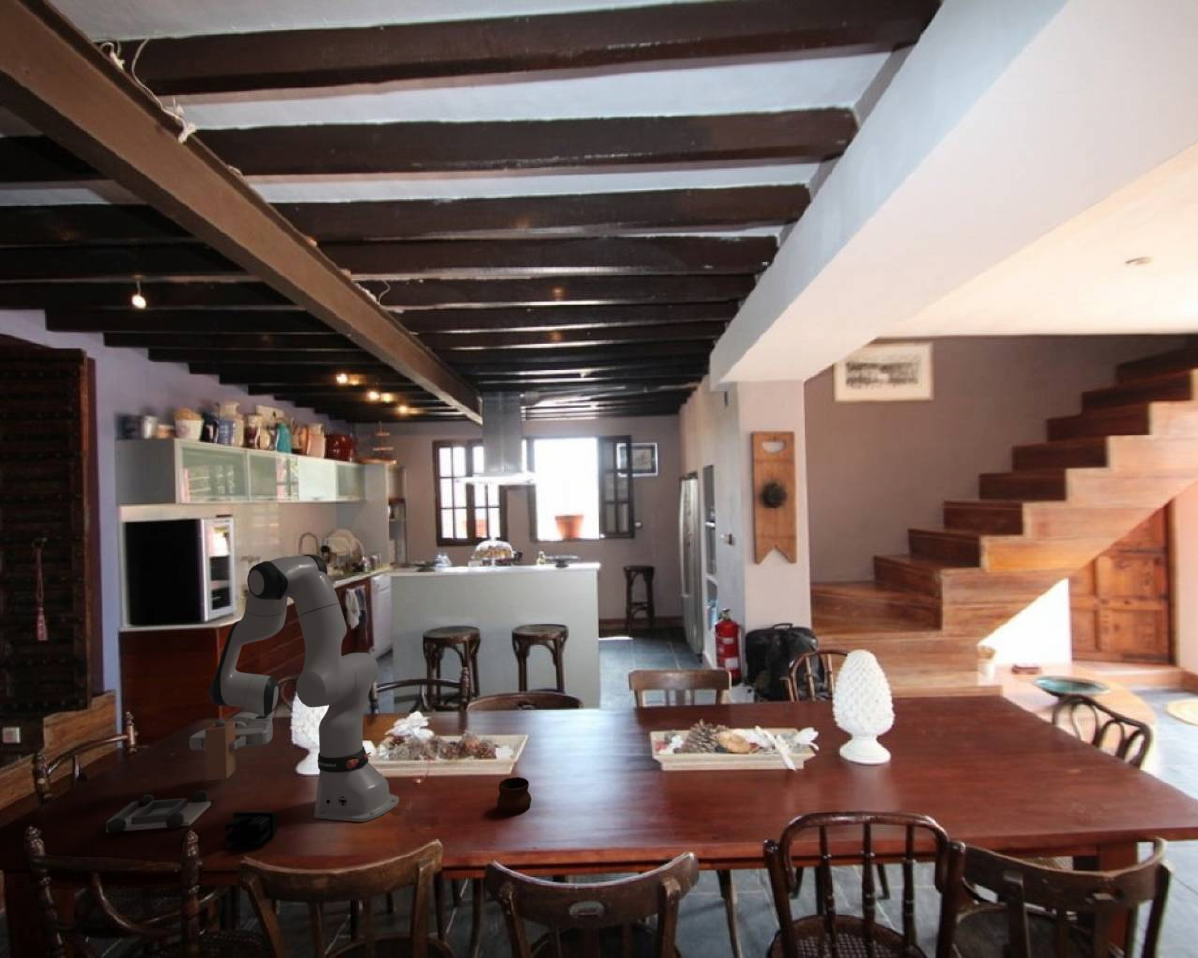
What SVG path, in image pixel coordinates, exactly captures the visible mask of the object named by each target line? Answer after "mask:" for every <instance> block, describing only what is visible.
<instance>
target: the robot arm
mask: <svg viewBox="0 0 1198 958" xmlns="http://www.w3.org/2000/svg"><path fill="white" fill-rule="evenodd" d="M248 571H249V572H248V573H247V574H248V575H247V578H246V582H247V587H248V591H247V594H246V599H245V605H244V612H243V616H242V618H241V619H240V620H238V621H237V620H236V621H235V622H234V623H233V624H232V626H231V628H230V629H229V631H228V632H227V633H228V634H227V637H226V639H225V642H224V646H223V648H222V652H221V655H220V659H219V661H218V665H217V669H216V672H215V674H214V677H213V680H212V682H211V683H210V684H211V685H210V687H209V691H208V696H209V698H210V699H211V701H212V702H213V704H215V705H216V706H217V707H220V706H221V707H235V708H237V707H238V708H243V709H242V710H240V711H239V712H238V713H236V714H235V715H233V716H232V717H231V718H229V719H228V720H227V721H226V722H232V721H235V741H231V742H230V744H229V746H230V747H229V749H236V750H237V749H240V748H244V747H247V746H248V747H249V746H250V747H251V746H263V745H267V744H268V743H270V741H271V740H272V739H273V734H274V733H273V731H274V728H273V720H274V719H273V718H274V715H275V710H276V708H277V706H278V703H279V699H280V693H281V688H280V686H279V682H278V681H277V679H276V678H275V677H274V676H271V675H265V674H258V673H249V672H248V673H247V672H240V671H239V670H237V669H236V667H237V663H238V660H239V656H240V654H241V650H242V647H243V646H245V645H247V644H250V643H255V642H259V641H264V640H267V639H269V638H271V637H274V636H276V634H278V633H280V631H281V630H282V629H283V627H284V625H285V623H286V619H287V618H286V617H287V611H288V598H289V599H291V600H292V601H293V603H294V606H295V610H296V614H297V618H298V623H299V624H300V625H299V626H300V629H301V633H302V637H303V641H304V647H305V654H304V655H305V656H304V664H303V668H302V671H301V673H300V675H299V677H298V678H297V681H296V684H295V685H296V686H295V687H296V688H295V690H296V695H297V697H298V699H299V701H300V702H301V703H302V704H303V705H304V706H305V707H307V708H320V707H321V708H322V707H326V706H328V708H327V709H326V712H325V713H324V715H323V717H322V718H321V719H320V722H319V725H318V738H319V739H318V742H319V745H318V746H319V748H318V749H319V752H318V754H317V768H318V770H319V772H318V780H317V788H316V790H317V791H316V798H315V799H316V800H315V804H314V812H313V818H314V819H322V820H331V821H333V820H334V821H344V822H345V821H346V822H355V823H356V822H358V823H359V822H360V823H363V822H364V823H365V822H368V821H370V820H371V821H372V820H373V819H376V818H378V817H380V816H382V815H385V814H386V813H387V812H389V811H391V810H392V809H393V808H395V807H396V806H397V805H398V804H399V802H400V797H399V796H397V795H395V794H392V793H390V785H389V782H388V780H387V779H386V778H385V776H384V775H383V774H382V773H380V772H379V771H378V770H377V769H376V768H375V766H373V765H372V764H371V763H370V762H369V758H371V757H372V755H370V754H372V752H368V753H367V751H366V748H365V746H364V743H363V742H364V741H363V735H364V734H363V731H364V729H363V725H364V723H363V721H364V714H365V709H366V705H367V700H368V697H369V693H370V691H371V689H372V687H373V685H374V684H375V682H376V681H377V678H378V676H379V664H378V662H377V660H376V658H375V657H374V656H373V655H371V654H370V653H367V652H352V653H351V652H350V653H348V654H345V655H342V645H343V640H344V638H345V636H346V635H347V632H348V627H347V624H346V620H345V617H344V614H343V610H342V608H341V607H342V606H341V604H340V601H339V597H338V595H337V592H336V590H335V587H334V585H333V583H332V581H331V579H330V578H329V576H328V567H327V564H326V562H325V560H324V559H323V558H322V556H321V557H320V556H319V555H315V554H303V555H293V556H283V557H277V558H274V559H271V560H264V561H261V562H259V563H256V564H254V565H253V566H252V567H251V568H250V569H249V570H248ZM206 729H207V728H206ZM206 729H202V730H200V731H197V732H196V733H194V734H192V735H191V736H190V737H189V742H188V743H189V749H190V750H191V751H201V750H203V751H204V752H206V742H205V730H206Z"/></svg>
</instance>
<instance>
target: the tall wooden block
mask: <svg viewBox="0 0 1198 958" xmlns="http://www.w3.org/2000/svg"><path fill="white" fill-rule="evenodd" d="M204 730H205V729H204ZM231 741H235V721H232V722H227V721H226V719H218V720H216V721H215V722H214V723H213V724H212V725H210V726H209V727H208V728H206V730H205V742H206V751H205V766H206V770H205V771H206V780H207V781H211V780H213V781H214V780H223V779H224V780H226V779H228V778H229V777H230V776H231V775H232V774H233V773H234V772H236V771H237V752H236V751H237V748H236V749H229V747H230V746H229V744H230V742H231Z"/></svg>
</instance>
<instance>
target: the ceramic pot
mask: <svg viewBox="0 0 1198 958" xmlns="http://www.w3.org/2000/svg"><path fill="white" fill-rule="evenodd" d="M529 787H530V782H529V780H528V779H526V778H525V777H521V776H517V777H515V776H514V777H507V778H504V779H503V780H500V782H499V784H498V792H499V795H498V797H495V798H492V799H491V801H493V800H495V799H496V800H497V801H496V802H497V808H498V810H499V812H500V813H501V814H503V815H507V816H517V815H522V814H524V813H525V812H528V811H529V810H530V808H531V803H532V796H531V793H530V792H529ZM491 801H487V802H486V803H490V802H491Z"/></svg>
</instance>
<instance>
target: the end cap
mask: <svg viewBox="0 0 1198 958" xmlns="http://www.w3.org/2000/svg"><path fill="white" fill-rule="evenodd" d="M232 815H233V817H232V819H231V820H229V821H227V823H225V824H224V832H227V831H229V830H230V829H231V831H230V832H229V833H228V834H226V835H225V837H224V842H225V844H226V850H263V848H265V847H266V846H267V845H268V844H270V842H272V841H273V838H275V836H276V835H277V833H278V830H279V827H280V826H279V824H280V817H279V814H278V813H277V812H276V811H235V812H234V813H232Z"/></svg>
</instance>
